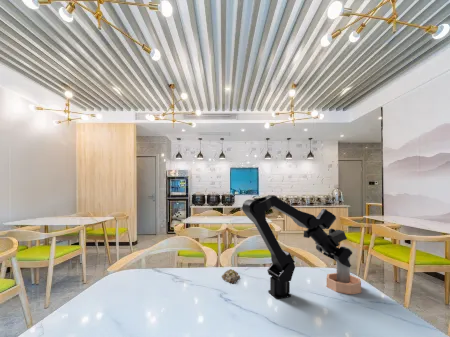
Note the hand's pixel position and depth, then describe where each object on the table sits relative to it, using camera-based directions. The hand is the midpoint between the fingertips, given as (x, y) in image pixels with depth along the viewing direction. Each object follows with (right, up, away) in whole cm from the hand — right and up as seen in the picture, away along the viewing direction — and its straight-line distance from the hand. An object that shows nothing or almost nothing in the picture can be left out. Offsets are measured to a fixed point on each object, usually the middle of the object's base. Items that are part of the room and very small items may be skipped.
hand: (346, 264), depth 104 cm
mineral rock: (-48, -10, +7) cm, 49 cm away
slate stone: (-1, -7, -1) cm, 7 cm away
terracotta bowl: (-1, -9, -1) cm, 9 cm away
